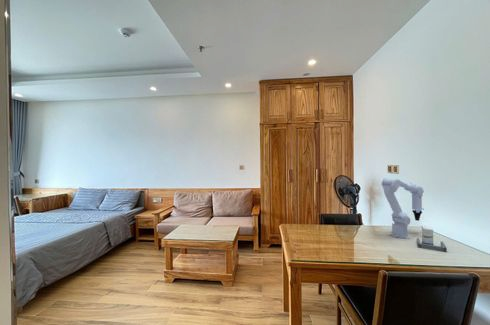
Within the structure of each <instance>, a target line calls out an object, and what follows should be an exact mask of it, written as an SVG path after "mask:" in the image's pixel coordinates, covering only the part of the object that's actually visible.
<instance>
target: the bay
mask: <svg viewBox="0 0 490 325" xmlns="http://www.w3.org/2000/svg"><path fill="white" fill-rule="evenodd" d="M416 243H417V248H419V249H424V250H431V251H435V252H442V251H443V252H442V253H447V252H448V250H447V248H448V247H446V244H445V243H444V241H440V242H439V243H440V246H439V245H434V244H433V245H427V244H423V243H422V242H421V240H420V238H419V237H416Z"/></svg>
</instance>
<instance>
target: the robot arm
mask: <svg viewBox="0 0 490 325" xmlns="http://www.w3.org/2000/svg"><path fill="white" fill-rule="evenodd" d="M381 187H382V189H383V193H384V196H385V198H386V200H387V203H388V204H389V206H390V208H391V211H392V213H391V217H392V221H393V223H392V224H391V234H392V237H393V238H400V239H407V240H408V239H409V234H408V232H409V230H408V226H409V225H410V224H411V218H410V217H409V216H408V214H407V213H406V212H404V211H403V210H402V208H401V206H400V205H401V204H399V201H398V199H397V197H396V195H395V193H396V192H397V191H398V190H399V187H401V188H403V189H404V190H405V191H407V192H409V193H411V209H412V213H413V215H414V220H415V221H417V222H418V221H419V222H420V218H421V215H422V214H423V210H424V209H425V208H424V207H423V204H422V203H423V198H422V197H423V193H424V188H423V187H421V186H417V184H413V183H412V182H404V181H402V180H400V179H397V178H386V177H385V178H383V179H382V181H381Z"/></svg>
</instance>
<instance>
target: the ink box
mask: <svg viewBox="0 0 490 325" xmlns="http://www.w3.org/2000/svg"><path fill="white" fill-rule="evenodd" d="M421 244H427V245H434V229H433V228H432V226H431V225H430V226H429V225H424V224H423V225H421Z"/></svg>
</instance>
